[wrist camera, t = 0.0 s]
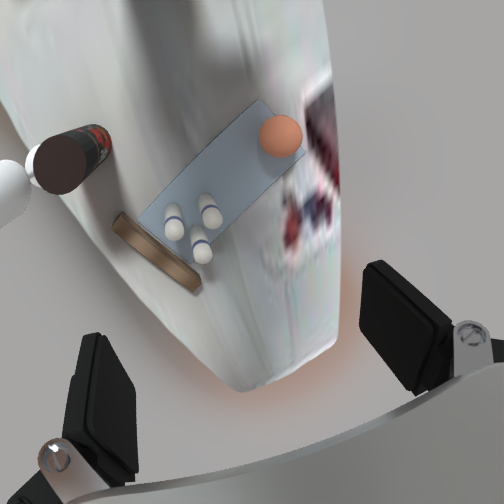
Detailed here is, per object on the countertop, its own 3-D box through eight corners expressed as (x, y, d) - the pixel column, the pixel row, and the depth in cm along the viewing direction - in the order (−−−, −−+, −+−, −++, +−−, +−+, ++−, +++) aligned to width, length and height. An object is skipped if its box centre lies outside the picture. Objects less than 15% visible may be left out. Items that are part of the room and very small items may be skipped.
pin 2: (185, 231, 48) (189, 256, 41) (196, 219, 48) (203, 243, 40) (196, 241, 49) (203, 267, 42) (208, 230, 49) (216, 255, 42)
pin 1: (160, 210, 46) (160, 232, 38) (172, 198, 45) (173, 218, 38) (173, 221, 47) (175, 245, 40) (184, 209, 47) (188, 231, 39)
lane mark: (136, 220, 45) (136, 220, 45) (259, 98, 42) (259, 98, 42) (190, 263, 51) (190, 263, 50) (305, 151, 47) (306, 151, 47)
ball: (245, 133, 44) (256, 137, 39) (275, 106, 43) (290, 107, 38) (272, 162, 47) (286, 170, 42) (300, 135, 46) (317, 140, 41)
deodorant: (70, 128, 37) (29, 141, 24) (109, 121, 38) (83, 129, 25) (74, 168, 39) (37, 199, 26) (113, 162, 41) (90, 190, 28)
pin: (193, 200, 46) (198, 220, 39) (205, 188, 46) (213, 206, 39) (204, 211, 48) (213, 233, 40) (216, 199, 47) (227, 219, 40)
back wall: (113, 221, 44) (111, 229, 42) (122, 212, 44) (119, 219, 42) (191, 282, 52) (192, 292, 50) (199, 274, 52) (201, 283, 49)
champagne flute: (59, 137, 37) (-31, 177, 16) (68, 181, 40) (-5, 256, 19) (21, 150, 36) (-79, 201, 15) (31, 193, 39) (-54, 271, 18)
